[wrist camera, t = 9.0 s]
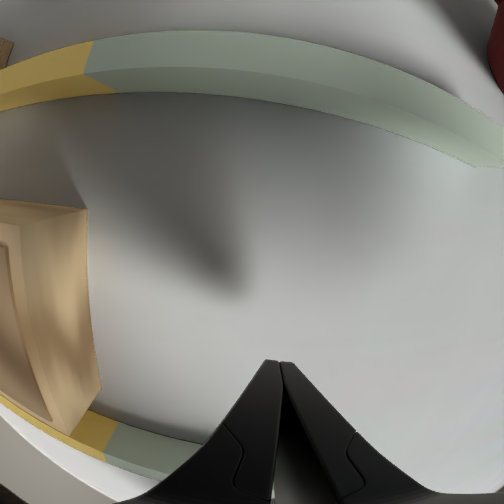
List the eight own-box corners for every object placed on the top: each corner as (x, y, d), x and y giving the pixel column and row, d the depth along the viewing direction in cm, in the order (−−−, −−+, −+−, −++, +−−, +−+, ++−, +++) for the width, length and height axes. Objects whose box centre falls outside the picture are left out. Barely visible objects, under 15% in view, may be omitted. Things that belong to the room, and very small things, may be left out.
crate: (104, 385, 12) (68, 438, 8) (16, 345, 12) (-23, 378, 8) (91, 208, 10) (16, 227, 6) (-3, 197, 10) (-61, 210, 6)
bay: (352, 464, 13) (360, 494, 10) (-20, 356, 12) (-37, 371, 10) (476, 140, 8) (516, 136, 5) (-37, 106, 8) (-63, 105, 5)
